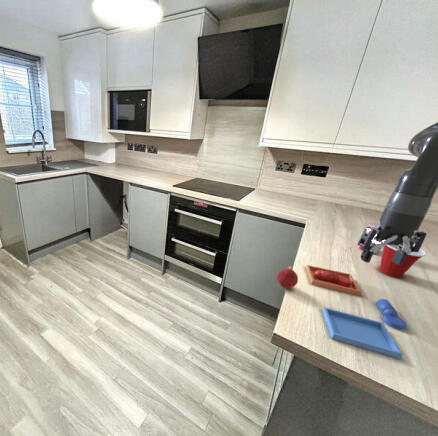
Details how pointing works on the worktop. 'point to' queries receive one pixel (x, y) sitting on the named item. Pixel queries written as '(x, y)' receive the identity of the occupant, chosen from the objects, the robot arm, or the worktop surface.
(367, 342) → the blue tray
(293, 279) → the red textured round fruit
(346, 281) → the red sausage
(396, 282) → the worktop surface
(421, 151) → the robot arm
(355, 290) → the terracotta tray
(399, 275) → the plastic cup
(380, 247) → the soda can
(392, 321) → the blue elongated piece
